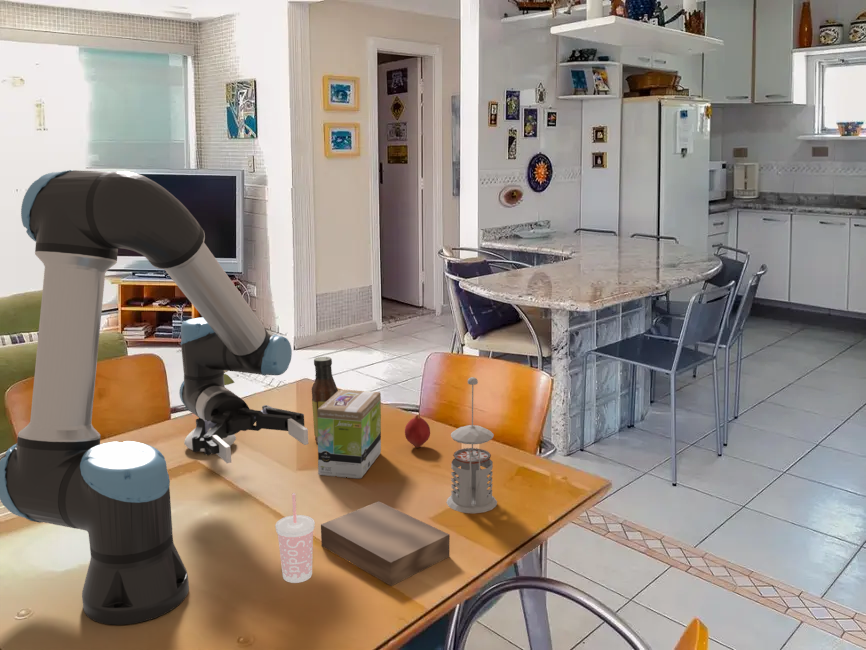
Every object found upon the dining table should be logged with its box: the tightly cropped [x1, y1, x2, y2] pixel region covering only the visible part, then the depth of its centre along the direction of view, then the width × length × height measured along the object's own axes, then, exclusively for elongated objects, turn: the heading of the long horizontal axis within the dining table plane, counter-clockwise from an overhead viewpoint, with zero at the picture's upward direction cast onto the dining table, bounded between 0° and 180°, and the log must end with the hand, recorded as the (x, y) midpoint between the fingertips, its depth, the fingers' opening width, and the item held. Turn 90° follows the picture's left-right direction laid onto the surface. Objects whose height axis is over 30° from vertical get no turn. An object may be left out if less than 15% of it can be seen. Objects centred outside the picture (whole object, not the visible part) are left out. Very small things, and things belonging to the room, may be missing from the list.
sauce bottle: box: [311, 356, 339, 443], centre depth 183 cm, size 7×6×20 cm
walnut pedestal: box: [320, 500, 450, 587], centre depth 134 cm, size 13×18×4 cm
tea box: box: [317, 389, 382, 479], centre depth 170 cm, size 15×10×15 cm, turn 168°
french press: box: [446, 376, 498, 514], centre depth 149 cm, size 10×12×25 cm
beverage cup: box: [274, 492, 316, 584], centre depth 125 cm, size 6×6×14 cm
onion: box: [404, 413, 431, 449], centre depth 180 cm, size 6×6×8 cm
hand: (268, 445), depth 131 cm, fingers open, 13 cm apart
